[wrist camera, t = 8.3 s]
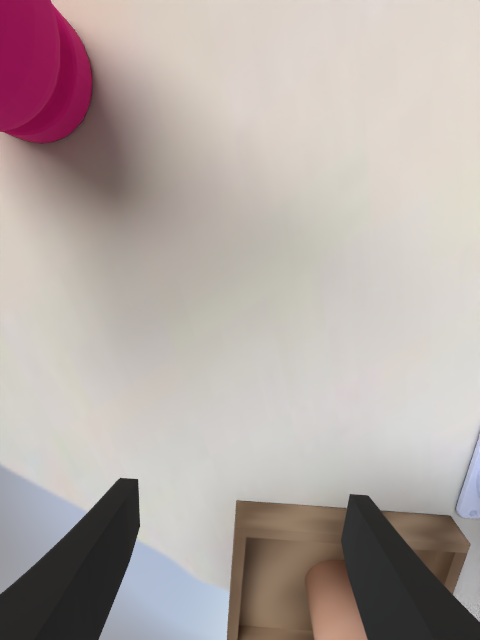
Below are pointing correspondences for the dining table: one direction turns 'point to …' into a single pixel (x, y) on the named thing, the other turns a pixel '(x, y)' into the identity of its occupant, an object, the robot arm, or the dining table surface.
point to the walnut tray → (313, 561)
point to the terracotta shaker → (333, 603)
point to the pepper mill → (41, 72)
